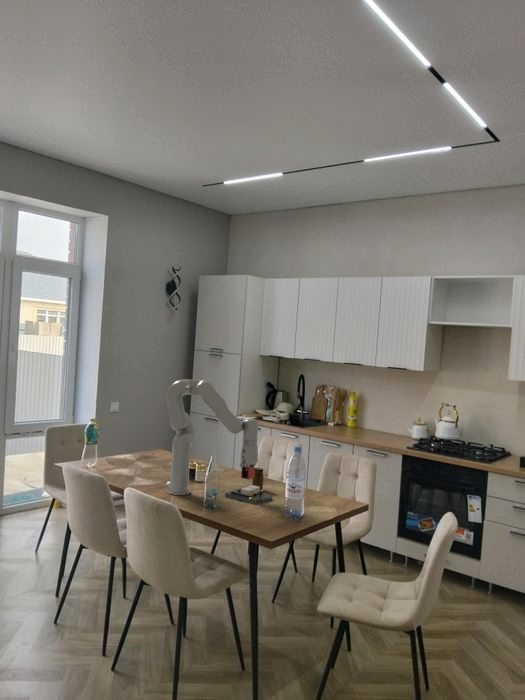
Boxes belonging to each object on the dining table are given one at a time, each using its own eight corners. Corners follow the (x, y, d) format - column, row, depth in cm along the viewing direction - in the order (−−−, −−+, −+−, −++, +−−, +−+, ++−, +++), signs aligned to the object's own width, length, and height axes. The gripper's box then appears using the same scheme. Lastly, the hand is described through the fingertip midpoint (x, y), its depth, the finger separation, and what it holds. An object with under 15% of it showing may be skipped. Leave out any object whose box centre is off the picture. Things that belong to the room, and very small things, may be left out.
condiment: (259, 488, 321) (261, 467, 321) (266, 491, 314) (268, 470, 314) (248, 488, 318) (249, 467, 318) (255, 492, 310) (257, 471, 310)
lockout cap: (241, 477, 296) (241, 466, 296) (246, 476, 300) (247, 465, 300) (248, 479, 293) (249, 468, 293) (254, 478, 297) (255, 466, 297)
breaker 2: (246, 492, 301) (247, 486, 301) (251, 490, 305) (252, 485, 305) (254, 494, 298) (254, 488, 298) (259, 492, 302) (260, 486, 302)
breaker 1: (240, 494, 295) (241, 488, 295) (246, 492, 300) (246, 487, 300) (248, 496, 293) (249, 490, 293) (254, 494, 297) (254, 489, 297)
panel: (225, 496, 297) (225, 491, 297) (241, 491, 310) (241, 486, 310) (256, 504, 286) (256, 499, 286) (272, 499, 299) (272, 494, 299)
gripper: (246, 445, 287) (244, 481, 287) (264, 442, 302) (262, 475, 302) (234, 443, 292) (232, 478, 292) (253, 440, 306) (251, 473, 306)
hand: (247, 476), depth 297 cm, fingers closed on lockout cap, 5 cm apart
